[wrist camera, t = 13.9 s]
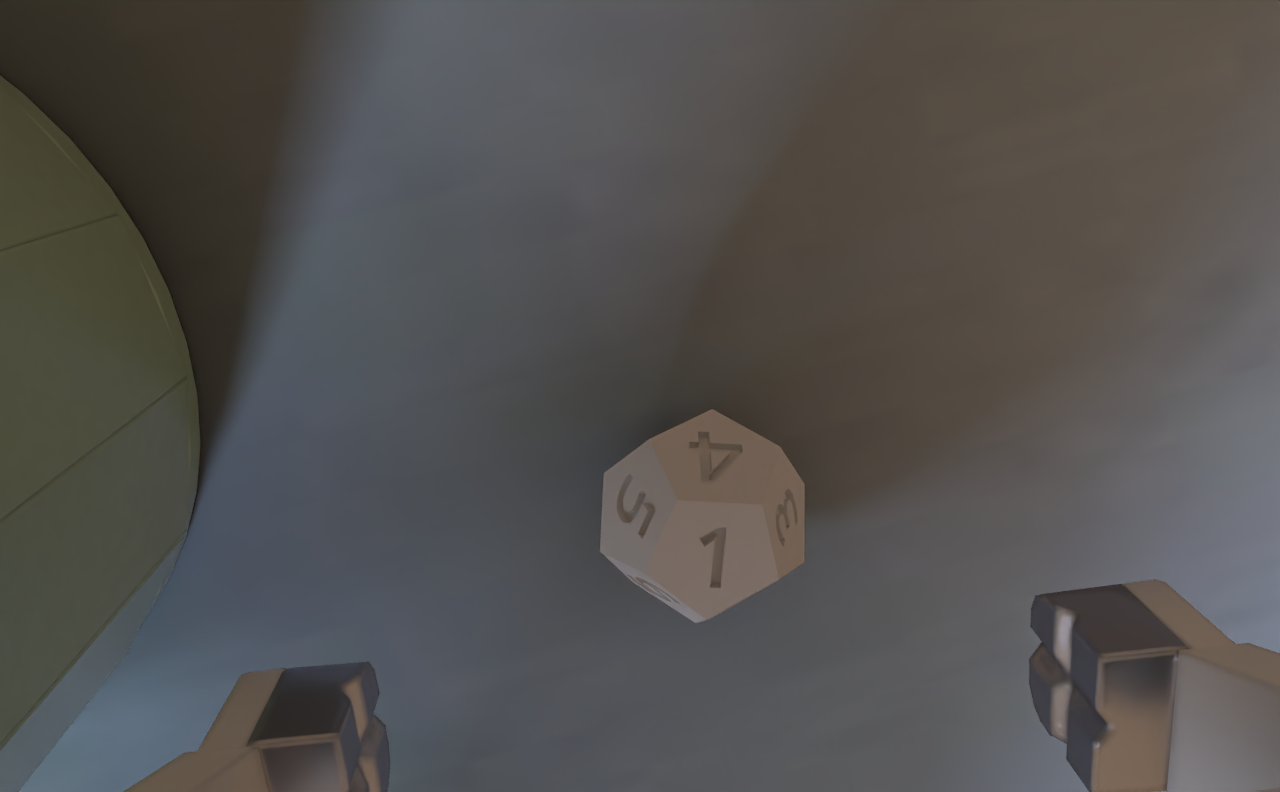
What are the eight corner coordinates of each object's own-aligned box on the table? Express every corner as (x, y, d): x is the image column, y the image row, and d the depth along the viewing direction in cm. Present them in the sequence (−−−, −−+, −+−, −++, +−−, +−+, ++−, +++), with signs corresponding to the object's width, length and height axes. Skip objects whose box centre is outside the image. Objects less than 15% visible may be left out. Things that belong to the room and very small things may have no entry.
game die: (594, 569, 20) (595, 653, 17) (608, 382, 19) (611, 439, 16) (776, 578, 20) (808, 662, 17) (801, 395, 19) (838, 453, 16)
